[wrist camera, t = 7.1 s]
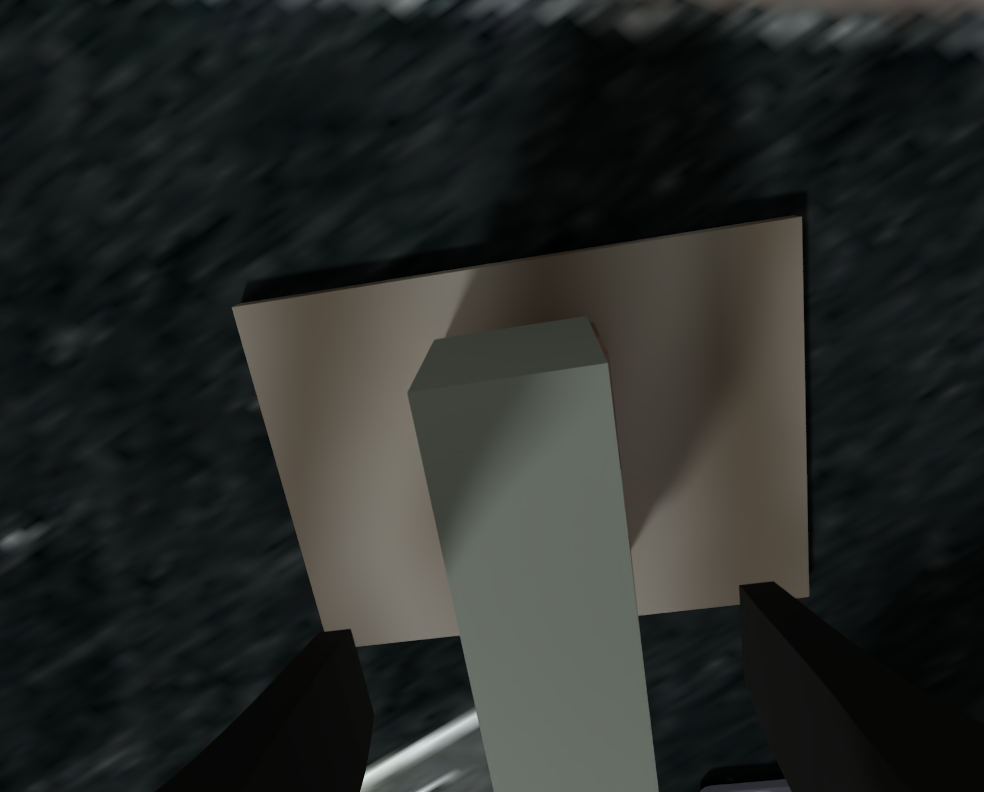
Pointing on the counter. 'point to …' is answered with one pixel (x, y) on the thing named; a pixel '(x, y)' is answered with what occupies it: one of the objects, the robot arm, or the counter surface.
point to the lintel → (538, 554)
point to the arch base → (664, 407)
